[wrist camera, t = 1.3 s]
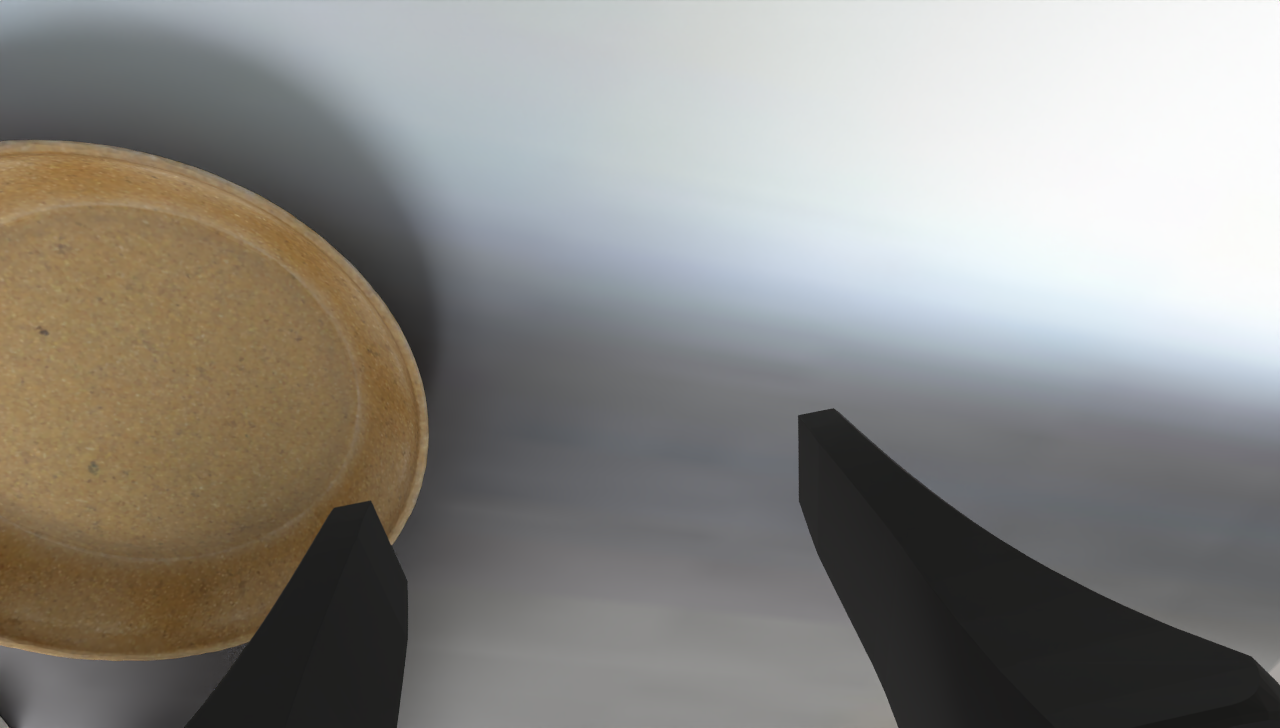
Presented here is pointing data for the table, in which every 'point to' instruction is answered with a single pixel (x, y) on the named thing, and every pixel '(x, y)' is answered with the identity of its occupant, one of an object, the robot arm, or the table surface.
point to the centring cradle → (3, 724)
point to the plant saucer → (179, 403)
